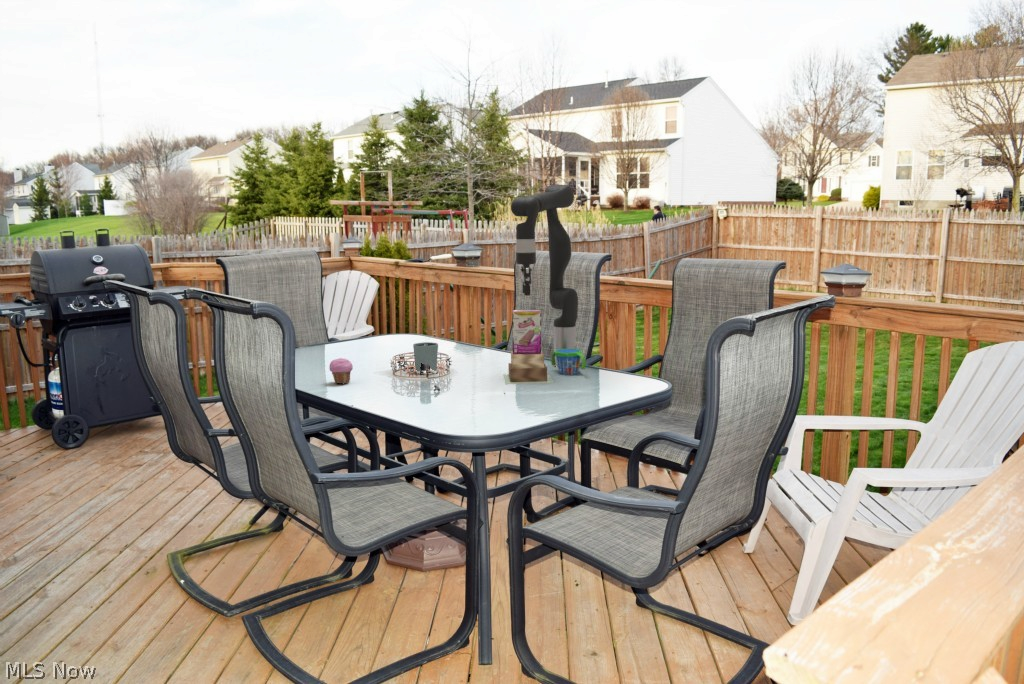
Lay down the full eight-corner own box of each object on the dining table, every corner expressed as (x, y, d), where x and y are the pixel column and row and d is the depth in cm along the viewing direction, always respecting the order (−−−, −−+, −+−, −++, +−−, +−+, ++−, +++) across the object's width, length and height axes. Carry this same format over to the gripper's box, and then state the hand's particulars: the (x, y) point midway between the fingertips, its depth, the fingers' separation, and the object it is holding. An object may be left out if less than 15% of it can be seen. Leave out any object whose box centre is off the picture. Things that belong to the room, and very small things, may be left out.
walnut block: (544, 374, 308) (544, 362, 307) (547, 381, 296) (547, 368, 296) (508, 375, 307) (508, 363, 307) (510, 382, 296) (510, 369, 295)
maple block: (541, 362, 306) (541, 350, 306) (544, 367, 296) (544, 354, 296) (511, 363, 306) (510, 351, 305) (512, 368, 296) (512, 355, 295)
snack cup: (545, 374, 314) (544, 350, 312) (563, 371, 321) (562, 346, 319) (573, 380, 303) (573, 354, 301) (591, 376, 310) (591, 351, 308)
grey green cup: (412, 375, 318) (411, 346, 316) (416, 370, 328) (415, 342, 326) (437, 374, 317) (436, 345, 315) (440, 370, 327) (439, 341, 325)
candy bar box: (512, 354, 298) (511, 311, 295) (513, 352, 303) (512, 309, 300) (541, 354, 297) (541, 311, 295) (542, 351, 302) (541, 309, 300)
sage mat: (548, 376, 311) (548, 373, 311) (553, 385, 294) (553, 382, 293) (503, 377, 310) (503, 374, 310) (505, 387, 293) (505, 384, 292)
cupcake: (347, 386, 299) (346, 360, 297) (326, 385, 301) (325, 360, 299) (356, 381, 307) (355, 356, 306) (336, 380, 309) (334, 355, 308)
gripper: (537, 252, 287) (537, 296, 290) (534, 250, 301) (534, 292, 304) (517, 252, 287) (517, 296, 289) (514, 250, 301) (515, 292, 303)
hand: (526, 294), depth 297 cm, fingers open, 8 cm apart
